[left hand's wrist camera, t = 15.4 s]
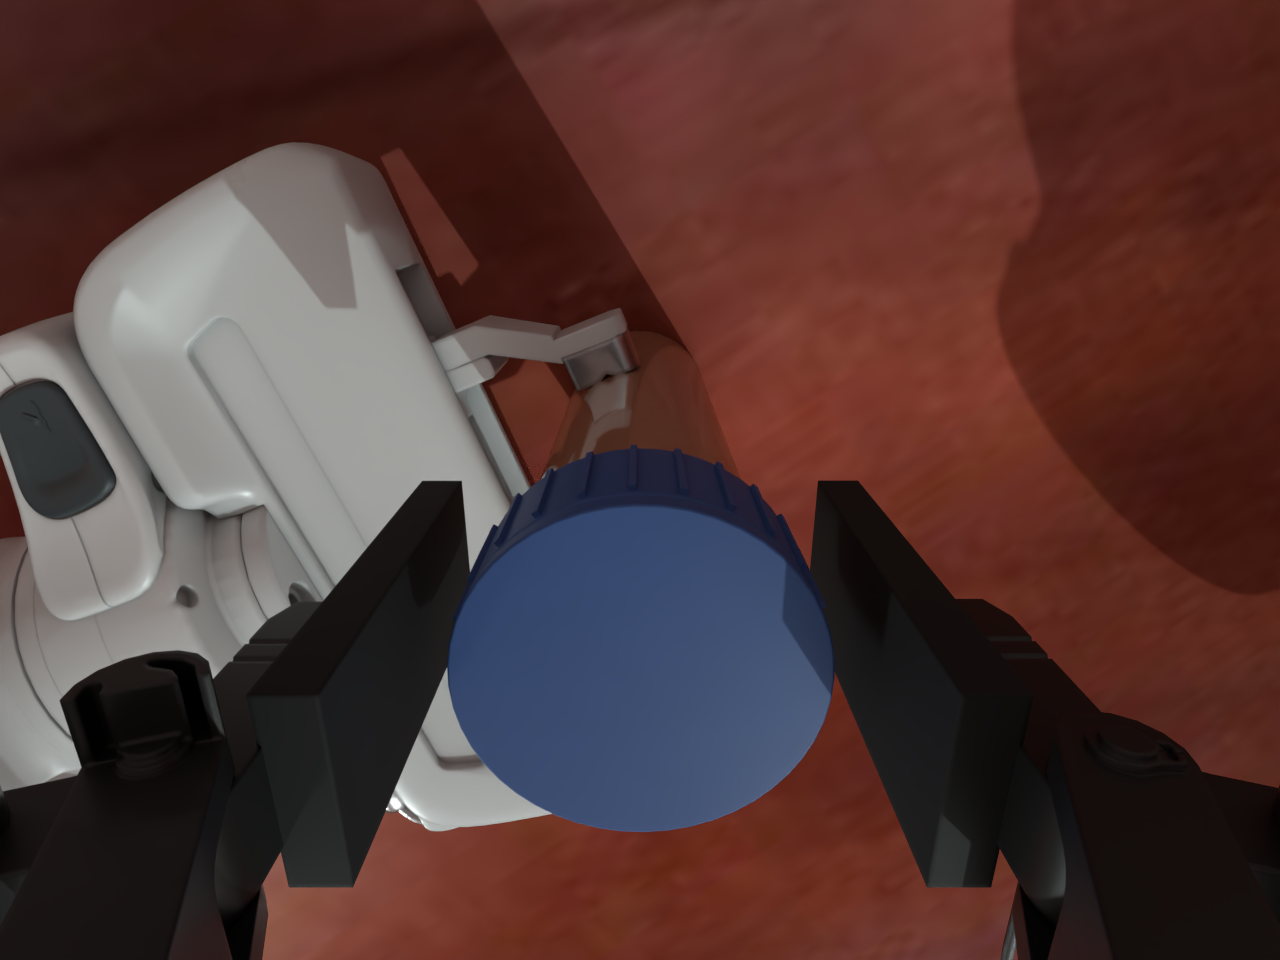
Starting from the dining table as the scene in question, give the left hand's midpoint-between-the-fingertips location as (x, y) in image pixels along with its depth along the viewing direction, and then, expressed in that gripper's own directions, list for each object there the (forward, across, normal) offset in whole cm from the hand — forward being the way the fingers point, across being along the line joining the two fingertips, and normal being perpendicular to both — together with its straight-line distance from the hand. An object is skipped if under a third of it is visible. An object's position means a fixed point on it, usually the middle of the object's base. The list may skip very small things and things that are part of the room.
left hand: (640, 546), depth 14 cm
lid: (-4, 0, 0) cm, 4 cm away
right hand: (+7, -1, 0) cm, 7 cm away
